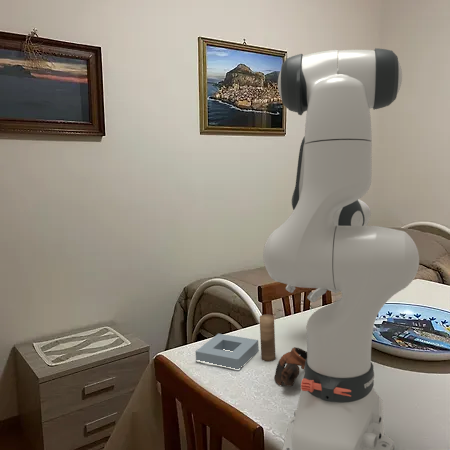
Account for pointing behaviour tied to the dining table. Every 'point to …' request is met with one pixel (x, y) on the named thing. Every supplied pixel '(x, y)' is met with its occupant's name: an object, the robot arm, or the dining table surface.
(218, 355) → the socket block
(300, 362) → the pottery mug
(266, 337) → the peg
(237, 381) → the dining table surface
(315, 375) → the robot arm
